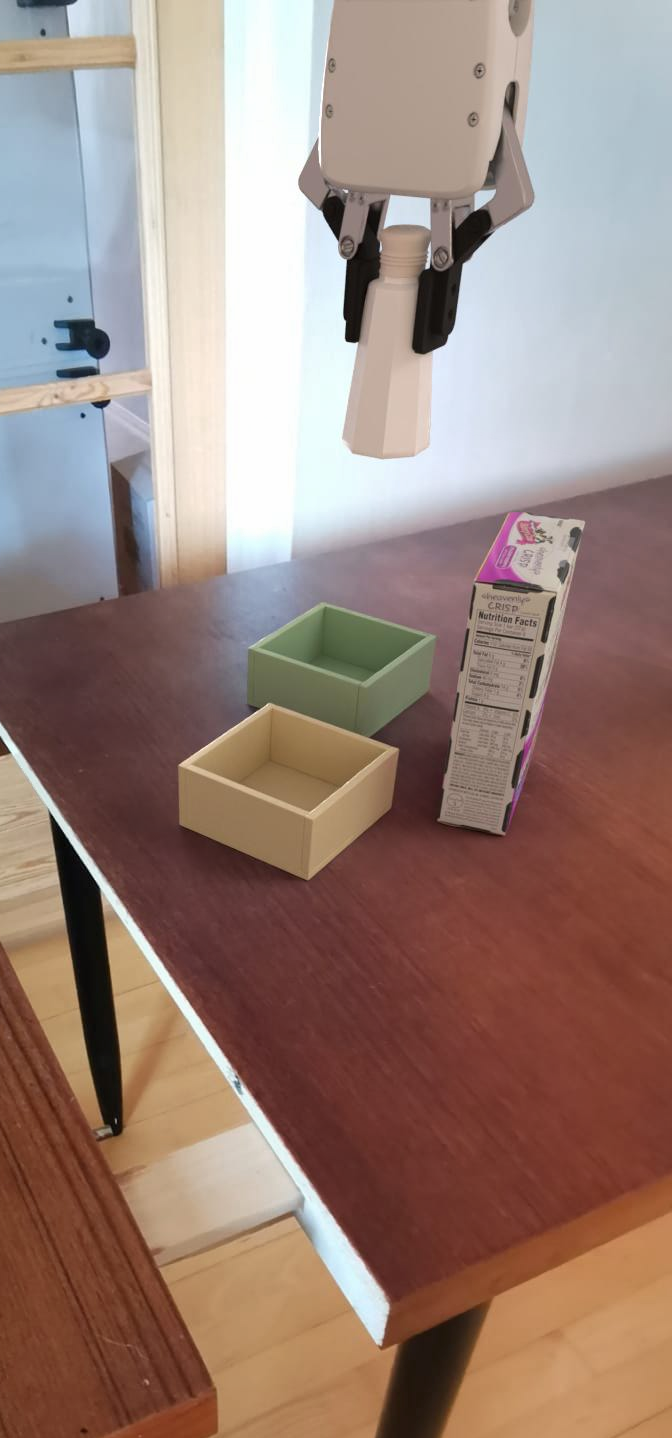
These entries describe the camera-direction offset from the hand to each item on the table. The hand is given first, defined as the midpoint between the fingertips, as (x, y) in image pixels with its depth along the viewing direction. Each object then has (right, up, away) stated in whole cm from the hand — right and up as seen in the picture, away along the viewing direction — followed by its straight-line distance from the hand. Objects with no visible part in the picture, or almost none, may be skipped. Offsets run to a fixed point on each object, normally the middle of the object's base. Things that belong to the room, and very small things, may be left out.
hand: (396, 339), depth 64 cm
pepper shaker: (0, -4, +4) cm, 6 cm away
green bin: (-1, -15, +21) cm, 26 cm away
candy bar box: (+8, -24, +12) cm, 28 cm away
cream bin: (-6, -26, +9) cm, 28 cm away
